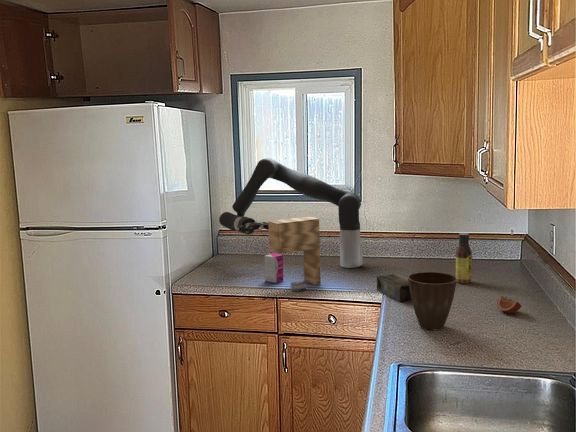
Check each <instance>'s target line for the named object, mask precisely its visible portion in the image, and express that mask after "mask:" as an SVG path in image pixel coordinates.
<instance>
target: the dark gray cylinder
mask: <svg viewBox="0 0 576 432" xmlns="http://www.w3.org/2000/svg"><path fill="white" fill-rule="evenodd" d="M290 290H291V292H292V293H296V294H297V293H298V294H299V293H305V292H307V282H306V281H298V280H297V281H293V282H291V283H290Z"/></svg>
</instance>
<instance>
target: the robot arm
mask: <svg viewBox="0 0 576 432" xmlns="http://www.w3.org/2000/svg"><path fill="white" fill-rule="evenodd" d="M268 179H272V180H275V181H279V182H282V183H284V184H285V185H287V186H288V187H289V188H291V189H293V190H294V191H296V192H298V193H299V194H301V195H304V196H306V197H308V198H311V199H315V200H320V201H323V202H327V203H330V204H333V205H334V206H337V207H338V208H337V209H338V211H337V212H338V224H339V245H340V246H339V247H340V248H339V251H340V253H339V254H340V257H339V258H340V261H339V262H340V267H342V268H347V269H351V268H358V267H361V266H363V245H362V244H361V223H360V208H361V205H362V200H361V199H360V197H359V196H358V195H357V194H355V193H353V192H349V191H347V190H346V191H345V190H343V189H339V188H337V187H335V186H333V185H331V184H329V183H327V182H325V181H323V180H321V179H318V178H316V177H314V176H312V175H309V174H307V173H304V172H301V171H298V170H295V169H292V168H289V167H287V166H286V165H284V164H282V163H280V162H278V161H276V160H275V159H273V158H261V160H259V161H258V162H257V164H256V166H255V168H254V170H253V172H252V174H251V176H250V178H249V180H248V182H247V183H246V185H245V187H244V188H243V189H242V191H241V192H240V194H239V195H238V197H237V198H236V199H235V201H234V203H233V204H232V206H231V208H232V210H233V211H234V212H235V213H236V214H234V213H232V212H229V211H225V212H222V213H221V214H220V215H219V219H218V220H219V221H218V222H219V224H220V225H221V226H222V227H224V228H227V229H228V230H230V231H233V232H239V233H241V234H246V235H252V234H254V233H255V232H257V231H263V230H266V231H269V224H268V222H266V221H262V222H261V221H260V222H259V221H258V222H257V221H256V220H255V219H254V218H253V217H249V216H245V214H246V212H248V209H249V208H250V207H251V205H252V204H253V202H254V200H255V198H256V196H257V194H258V192H259V190H260V189H261V187H262V185H264V183H265V182H266V181H267V180H268Z"/></svg>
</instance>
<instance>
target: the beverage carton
mask: <svg viewBox="0 0 576 432" xmlns="http://www.w3.org/2000/svg"><path fill="white" fill-rule="evenodd" d="M376 291H378V292H380V293H381V294H383V295H385V296H388V297H390V298H391V299H393V300H395V301H397V302H399V303H406V302H412V299H411V294H410V288H409V281H408V280H407V279H405V278H403V277H400V276H398V275H395V274H383V273H382V274H380V275H377V276H376Z"/></svg>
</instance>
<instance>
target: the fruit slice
mask: <svg viewBox="0 0 576 432" xmlns="http://www.w3.org/2000/svg"><path fill="white" fill-rule="evenodd" d="M496 305H497V308H498V309H499V310H500V311H502V312H503V313H505V314H514V313H517V312H518V311H519V310H520V309H521V308H522V304H521V303H520V302H519V301H516V300H514V299H512V298H507V297H504V296H503V295H499V297H498V298H497V300H496Z"/></svg>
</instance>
